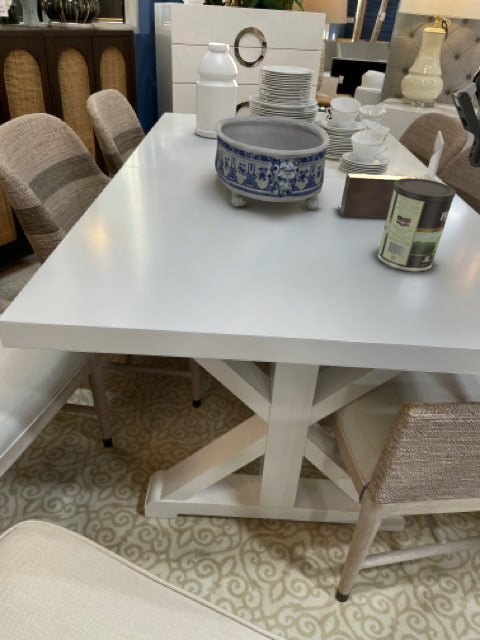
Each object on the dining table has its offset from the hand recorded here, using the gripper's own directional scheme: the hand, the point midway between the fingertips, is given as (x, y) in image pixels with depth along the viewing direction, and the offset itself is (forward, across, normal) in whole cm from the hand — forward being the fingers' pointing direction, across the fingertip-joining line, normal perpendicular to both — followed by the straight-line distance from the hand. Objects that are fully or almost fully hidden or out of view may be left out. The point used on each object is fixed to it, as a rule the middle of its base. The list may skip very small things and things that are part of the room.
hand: (477, 166), depth 67 cm
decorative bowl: (+22, -23, +51) cm, 60 cm away
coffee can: (+22, 0, +14) cm, 26 cm away
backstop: (+21, +1, +36) cm, 42 cm away
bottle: (+22, -35, +111) cm, 118 cm away
